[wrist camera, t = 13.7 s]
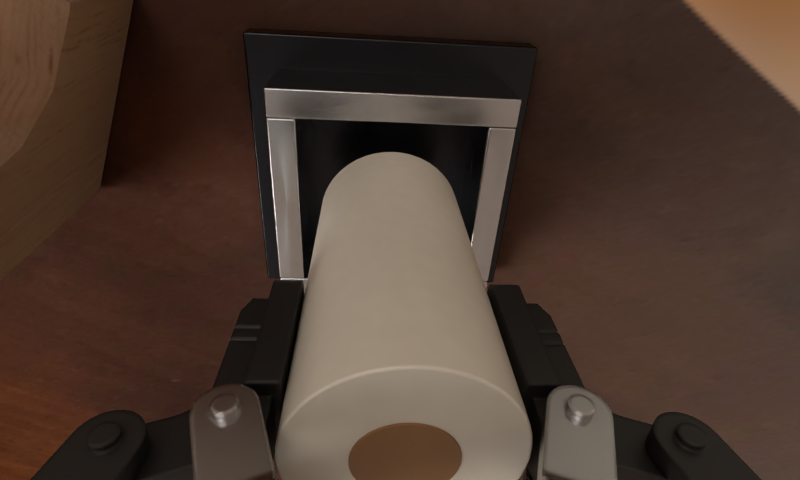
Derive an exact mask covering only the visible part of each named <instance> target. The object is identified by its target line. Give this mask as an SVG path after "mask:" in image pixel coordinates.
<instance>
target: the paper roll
mask: <svg viewBox="0 0 800 480" xmlns="http://www.w3.org/2000/svg"><path fill="white" fill-rule="evenodd" d="M532 446H533V434H532V430H531V425H530V422H529V419H528V416H527V412H526V409H525V406H524V403H523V400H522V397H521V394H520V391H519V388H518V385H517V382H516V379H515V376H514V373H513V370H512V367H511V364H510V361H509V358H508V355H507V352H506V349H505V346H504V343H503V340H502V337H501V334H500V331H499V328H498V325H497V322H496V319H495V316H494V313H493V309H492V306H491V303H490V300H489V297H488V294H487V291H486V288H485V285H484V282H483V279H482V276H481V273H480V270H479V267H478V264H477V261H476V258H475V255H474V252H473V249H472V246H471V243H470V240H469V237H468V234H467V231H466V228H465V225H464V222H463V219H462V216H461V213H460V210H459V206H458V203H457V200H456V197H455V194H454V192H453V189H452V187H451V185H450V184H449V182H448V180H447V179H446V178H445V177H444V175H443V174H442V173H441V172H440V171H439V170H438V169H437V168H436V167H434V166H433V165H431V164H430V163H429V162H427V161H425V160H423V159H421V158H419V157H416V156H413V155H410V154H405V153H399V152H381V153H375V154H371V155H367V156H364V157H362V158H359V159H357V160H355V161H353V162H352V163H350V164H348V165H347V166H346V167H345V168H343V169H342V170H341V171H340V172H339V173H338V174H337V175H336V176H335V177H334V179H333V180H332V181H331V183H330V184H329V186H328V188H327V190H326V192H325V195H324V198H323V202H322V207H321V212H320V218H319V223H318V228H317V233H316V238H315V243H314V248H313V254H312V259H311V264H310V269H309V274H308V279H307V284H306V290H305V295H304V300H303V305H302V310H301V315H300V320H299V326H298V331H297V336H296V341H295V346H294V351H293V356H292V362H291V367H290V372H289V377H288V382H287V387H286V392H285V397H284V403H283V408H282V413H281V418H280V423H279V428H278V433H277V439H276V444H275V460H276V465H277V469H278V472H279V474H280V476H281V478H282V480H518V479H519V478H520V477H521V475H522V473H523V472H524V470H525V469H526V467H527V464H528V462H529V459H530V456H531V451H532Z"/></svg>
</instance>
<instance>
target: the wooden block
mask: <svg viewBox="0 0 800 480" xmlns="http://www.w3.org/2000/svg"><path fill="white" fill-rule="evenodd" d="M132 6H133V0H0V280H1V279H2V278H4V277H5V276H6V275H7V274H8V273H9V272H10V271H11V270H12V269H13V268H15V267H16V266H17V265H18V264H19V263H20V262H21V261H22V260H23V259H25V258H26V257H27V256H28V255H29V254H30V253H31V252H32V251H33V250H35V249H36V248H37V247H38V246H39V245H40V244H41V243H42V242H43V241H45V240H46V239H47V238H48V237H49V236H50V235H51V234H52V233H54V232H55V231H56V230H57V229H58V228H59V227H60V226H61V225H62V224H64V223H65V222H66V221H67V220H68V219H69V218H70V217H71V216H72V215H74V214H75V213H76V212H77V211H78V210H79V209H80V208H81V207H82V206H84V205H85V204H86V203H87V202H88V201H89V200H90V199H91V198H92V197H94V196H95V195H96V194H97V193H98V191H99V190H100V186H101V180H102V175H103V169H104V164H105V158H106V152H107V147H108V141H109V136H110V130H111V124H112V119H113V113H114V108H115V102H116V96H117V91H118V85H119V79H120V74H121V68H122V62H123V57H124V51H125V45H126V40H127V34H128V28H129V23H130V17H131V11H132Z"/></svg>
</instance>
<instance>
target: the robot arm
mask: <svg viewBox="0 0 800 480" xmlns="http://www.w3.org/2000/svg"><path fill="white" fill-rule="evenodd" d="M487 294H488V297H489V300H490V303H491V306H492V309H493V313H494V316H495V319H496V322H497V325H498V328H499V331H500V334H501V337H502V340H503V343H504V346H505V349H506V352H507V355H508V358H509V361H510V364H511V367H512V370H513V373H514V376H515V379H516V382H517V385H518V388H519V391H520V394H521V397H522V400H523V403H524V406H525V409H526V412H527V416H528V419H529V422H530V425H531V430H532V434H533V446H532V451H531V456H530V459H529V462H528V464H527V467H526V469H525V472H524V476H523V480H761V479H760V478H759V477H758V476H757V475H756V474H755V473H754V472H753V471H752V470H751V469H750V467H749V466H748V465H747V464H746V463H745V462H744V461H743V460H742V459H741V458H740V457H739V456H738V455H737V454H736V453H735V452H734V451H733V450H732V449H731V448H730V447H729V446H728V445H727V444H726V443H725V442H724V441H723V440H722V438H721V437H720V436H719V435H718V434H717V433H716V432H715V431H714V430H712V429H711V428H710V427H709V426H708V425H706V424H705V423H703V422H702V421H700V420H698V419H696V418H694V417H692V416H689V415H687V414H683V413H678V412H667V413H663V414H661V415H659V416H658V417H657V418H656V419H655V421H654V423H653V425H651V424H647V423H643V422H640V421H636V420H632V419H629V418H625V417H622V416H619V415H616V414H614V413H612V412H611V410H610V408H609V406H608V405H607V404H606V403H605V401H604V400H603V399H602V398H600V397H599V396H598V395H597V394H595V393H593V392H592V391H590V390H588V389H585V388H584V386H583V383H582V381H581V379H580V377H579V375H578V373H577V371H576V369H575V367H574V365H573V362H572V360H571V358H570V356H569V354H568V352H567V350H566V348H565V346H564V345H563V341H562V339H561V337H560V335H559V333H557V329H556V327H555V325H554V322H553V320H552V318H551V316H550V315H549V314H548V313H546V312H545V311H544V310H543V309H542V308H541V307H540V306H539V305H538V304H527V303H526V301H525V299H524V296H523V294H522V292H521V289H520V287H519V286H518V285H490V286H489V288H488V292H487ZM303 300H304V283H303V280H274V283H273V286H272V289H271V293H270V296H269V299H252V300H251V301H250V302H249V303H248V304H247V305H246V306H245V307H244V308H243V309H242V310H241V312H240V314H239V317H238V320H237V323H236V325H235V329H234V331H233V334H232V336H231V341H230V342H229V345H228V347H227V350H226V353H225V356H224V358H223V361H222V364H221V367H220V369H219V372H218V375H217V378H216V380H215V383H214V386H213V388H212V389H210V390H208V391H206V392H205V393H204V394H202V395H201V396H200V397H199V398H198V399H197V400H196V401H195V403H194V404H193V406H192V408H191V410H189V411H187V412H184V413H182V414H179V415H176V416H173V417H169V418H165V419H162V420H158V421H154V422H150V423H146V424H145V422H144V420H143V418H142V417H141V416H140V415H139V414H137V413H135V412H132V411H128V410H115V411H109V412H105V413H102V414H100V415H97V416H95V417H93V418H91V419H89V420H88V421H86V422H85V423H83V424H82V425H81V426H80V427H78V428H77V429H76V430H75V431H74V432H73V433H72V434H71V435H70V437H69V438H68V439H67V440H66V441H65V442H64V443H63V444H62V445H61V447H60V448H59V449H58V450H57V451H56V452H55V453H54V454H53V455H52V456H51V458H50V459H49V460H48V461H47V462H46V463H45V464H44V465H43V466H42V467H41V469H40V470H39V471H38V472H37V473H36V474H35V475H34V476H33V477H32V479H31V480H279V479H278V478H277V476H276V472H275V468H274V463H273V460H274V455H275V444H276V439H277V433H278V428H279V423H280V418H281V413H282V408H283V403H284V397H285V392H286V387H287V382H288V377H289V372H290V367H291V362H292V356H293V351H294V346H295V341H296V336H297V331H298V326H299V320H300V315H301V310H302V305H303Z"/></svg>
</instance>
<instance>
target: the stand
mask: <svg viewBox="0 0 800 480" xmlns="http://www.w3.org/2000/svg"><path fill="white" fill-rule="evenodd" d="M243 38H244V48H245V58H246V67H247V77H248V87H249V97H250V107H251V117H252V126H253V136H254V146H255V156H256V166H257V175H258V185H259V195H260V205H261V215H262V224H263V234H264V244H265V254H266V264H267V274H268V278H280V280H303V283H304V295H305V290H306V284H307V279H308V274H309V269H310V264H311V259H312V254H313V248H314V243H315V238H316V233H317V228H318V223H319V218H320V212H321V207H322V202H323V198H324V195H325V192H326V190H327V188H328V186H329V184H330V183H331V181H332V180H333V179H334V177H335V176H336V175H337V174H338V173H339V172H340V171H341V170H342V169H343V168H345V167H346V166H347V165H348V164H350V163H352V162H353V161H355V160H357V159H359V158H362V157H364V156H367V155H371V154H375V153H381V152H399V153H405V154H410V155H413V156H416V157H419V158H421V159H423V160H425V161H427V162H429V163H430V164H431V165H433V166H434V167H436V168H437V169H438V170H439V171H440V172H441V173H442V174H443V175H444V177H445V178H446V179H447V180H448V182H449V184H450V185H451V187H452V189H453V192H454V194H455V197H456V200H457V203H458V206H459V210H460V213H461V216H462V219H463V222H464V225H465V228H466V231H467V234H468V237H469V240H470V243H471V246H472V249H473V252H474V255H475V258H476V261H477V264H478V267H479V270H480V273H481V276H482V279H483V282H484V285H485V288H486V289H487V284H488V283H487V282H493V279H494V273H495V268H496V263H497V258H498V253H499V247H500V242H501V237H502V232H503V227H504V222H505V216H506V211H507V206H508V201H509V196H510V190H511V185H512V180H513V175H514V170H515V164H516V159H517V154H518V149H519V144H520V138H521V133H522V128H523V123H524V118H525V113H526V107H527V102H528V97H529V92H530V87H531V81H532V76H533V71H534V66H535V61H536V55H537V48H536V47H535V46H533V45H532V44H529V43H511V42H492V41H474V40H456V39H437V38H419V37H400V36H382V35H363V34H345V33H327V32H308V31H290V30H271V29H253V28H250V29H248V30H246V31H245V32H244V33H243Z"/></svg>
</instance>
